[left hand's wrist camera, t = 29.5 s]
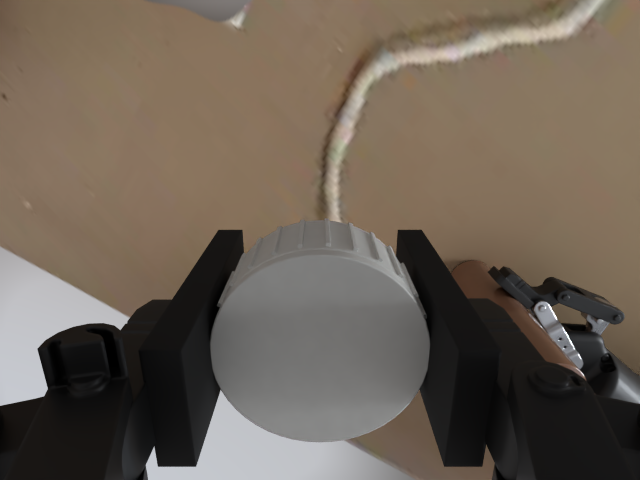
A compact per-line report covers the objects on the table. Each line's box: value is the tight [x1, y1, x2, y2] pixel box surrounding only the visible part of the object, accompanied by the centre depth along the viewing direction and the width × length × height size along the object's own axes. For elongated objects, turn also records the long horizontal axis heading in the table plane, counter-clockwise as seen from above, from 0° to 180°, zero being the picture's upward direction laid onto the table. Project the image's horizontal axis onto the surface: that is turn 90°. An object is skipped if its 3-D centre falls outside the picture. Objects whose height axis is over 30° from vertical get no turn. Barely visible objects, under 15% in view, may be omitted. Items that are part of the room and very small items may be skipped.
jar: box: [451, 260, 586, 380], centre depth 33 cm, size 4×4×18 cm
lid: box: [210, 218, 430, 442], centre depth 11 cm, size 5×5×2 cm
